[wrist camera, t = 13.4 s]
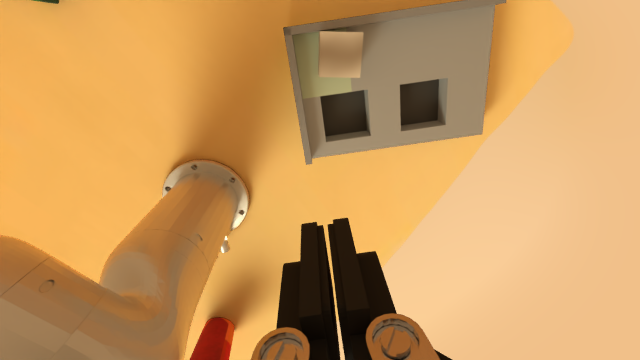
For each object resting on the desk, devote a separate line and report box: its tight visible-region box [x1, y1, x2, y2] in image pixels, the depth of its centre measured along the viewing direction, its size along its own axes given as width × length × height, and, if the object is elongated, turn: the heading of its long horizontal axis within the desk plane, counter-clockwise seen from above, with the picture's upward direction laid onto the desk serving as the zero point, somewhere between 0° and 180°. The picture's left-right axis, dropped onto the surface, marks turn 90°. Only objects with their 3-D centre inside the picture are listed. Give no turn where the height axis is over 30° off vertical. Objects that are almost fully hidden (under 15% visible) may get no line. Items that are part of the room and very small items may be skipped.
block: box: [318, 31, 363, 78], centre depth 33 cm, size 4×4×4 cm
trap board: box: [283, 0, 506, 165], centre depth 37 cm, size 16×24×5 cm, turn 98°
